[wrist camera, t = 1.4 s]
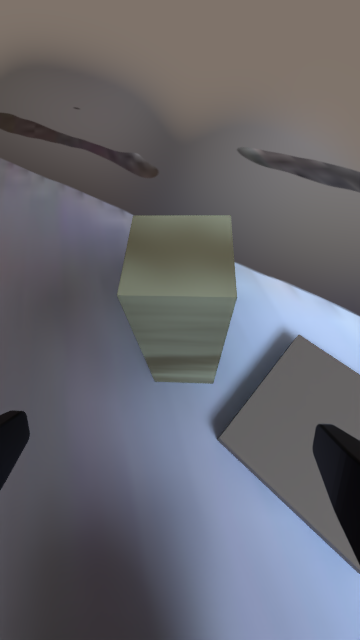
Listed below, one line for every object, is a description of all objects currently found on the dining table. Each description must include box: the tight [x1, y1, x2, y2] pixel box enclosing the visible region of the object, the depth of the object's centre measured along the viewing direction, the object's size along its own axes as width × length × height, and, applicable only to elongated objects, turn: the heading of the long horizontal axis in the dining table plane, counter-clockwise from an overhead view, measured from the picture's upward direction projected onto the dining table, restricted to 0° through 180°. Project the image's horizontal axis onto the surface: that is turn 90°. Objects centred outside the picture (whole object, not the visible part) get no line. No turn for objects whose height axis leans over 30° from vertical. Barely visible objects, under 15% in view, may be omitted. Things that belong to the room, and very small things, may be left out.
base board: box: [217, 335, 360, 574], centre depth 19 cm, size 11×11×2 cm
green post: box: [117, 216, 237, 384], centre depth 17 cm, size 5×5×13 cm
